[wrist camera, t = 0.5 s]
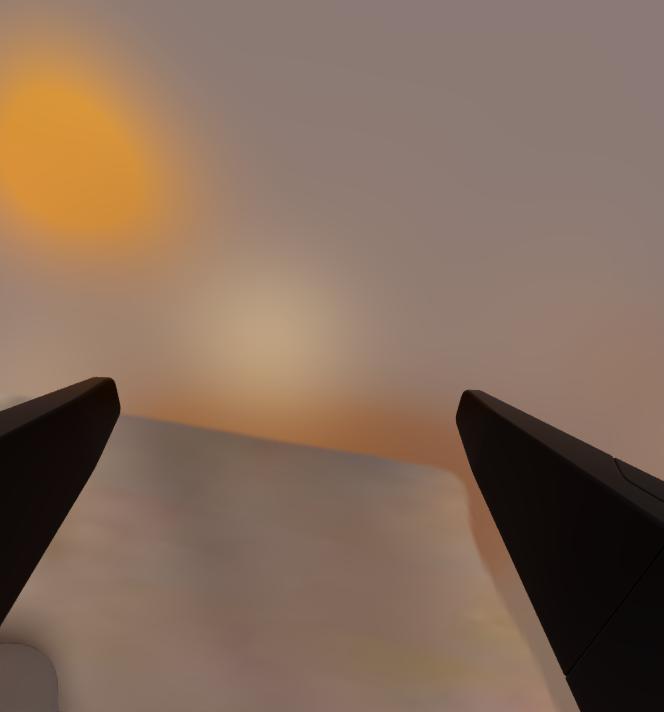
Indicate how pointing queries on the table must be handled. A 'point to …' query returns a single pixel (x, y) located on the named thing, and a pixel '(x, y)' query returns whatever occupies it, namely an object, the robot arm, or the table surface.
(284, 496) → the table surface
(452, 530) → the table surface
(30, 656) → the paw print puck
